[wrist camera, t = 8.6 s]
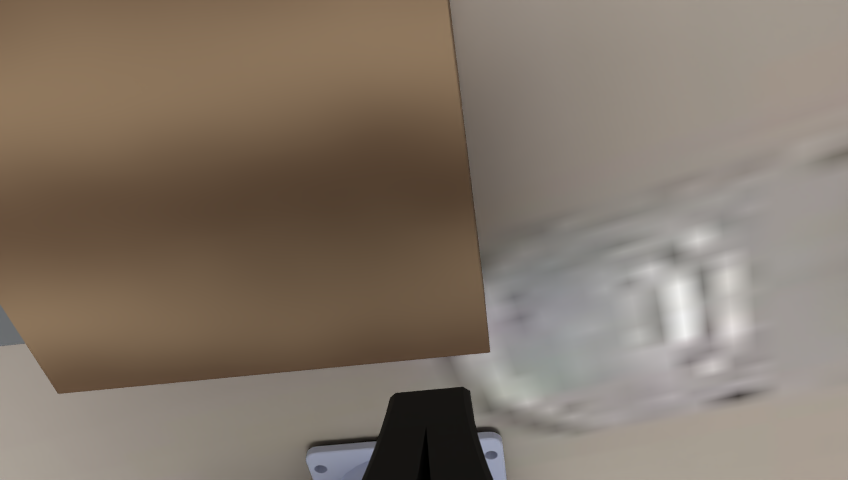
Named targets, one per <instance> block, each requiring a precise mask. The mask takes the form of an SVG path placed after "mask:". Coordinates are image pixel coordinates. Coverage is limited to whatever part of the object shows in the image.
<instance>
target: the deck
mask: <svg viewBox="0 0 848 480" xmlns="http://www.w3.org/2000/svg"><path fill="white" fill-rule="evenodd" d="M0 305H1V306H2V308H3V309H4V311H5V313H6V314H7V316H8V317H9V319H10V320H11V322H12V323H13V325H14V326H15V328H16V330H17V331H18V333H19V334H20V336H21V337H22V339H23V340H24V342H25V343H26V345H27V347H28V348H29V350H30V351H31V353H32V354H33V356H34V357H35V359H36V360H37V362H38V363H39V365H40V367H41V368H42V370H43V371H44V373H45V374H46V376H47V377H48V379H49V380H50V382H51V384H52V385H53V387H54V388H55V390H56V391H57V393H58V394H61V393H71V392H82V391H92V390H103V389H113V388H124V387H134V386H144V385H155V384H165V383H176V382H186V381H197V380H207V379H217V378H228V377H238V376H249V375H259V374H270V373H280V372H290V371H301V370H311V369H322V368H332V367H343V366H353V365H363V364H374V363H384V362H395V361H405V360H415V359H426V358H436V357H447V356H457V355H468V354H478V353H488V352H490V345H489V335H488V325H487V315H486V304H485V294H484V285H483V277H482V268H481V260H480V252H479V243H478V235H477V227H476V218H475V210H474V202H473V193H472V185H471V177H470V168H469V160H468V152H467V143H466V135H465V127H464V119H463V110H462V102H461V94H460V85H459V77H458V69H457V60H456V52H455V44H454V35H453V27H452V19H451V10H450V2H449V0H0Z"/></svg>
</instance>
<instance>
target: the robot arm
mask: <svg viewBox="0 0 848 480" xmlns="http://www.w3.org/2000/svg"><path fill="white" fill-rule="evenodd" d="M306 463H307V465H308V468H309V470H310V473H311V476H312V478H313V480H507V477H506V469H505V460H504V452H503V444H502V438H501V436H500V435H499V434H497V433H495V432H479V433H477V430H476V426H475V421H474V415H473V408H472V401H471V395H470V391H469V390H467V389H466V388H464V387H456V388H445V389H434V390H423V391H413V392H402V393H395V394H394V395H393V396H392V397H391V398H390V401H389V405H388V408H387V412H386V415H385V419H384V422H383V425H382V428H381V431H380V434H379V437H378V440H377V441H373V442H362V443H350V444H338V445H326V446H316V447H312V448H310V449H309V450H308V451H307V455H306Z"/></svg>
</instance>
